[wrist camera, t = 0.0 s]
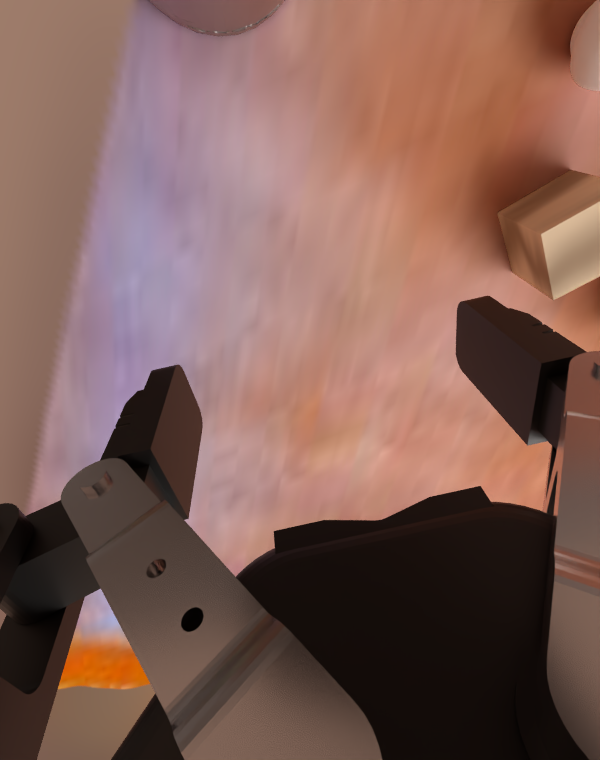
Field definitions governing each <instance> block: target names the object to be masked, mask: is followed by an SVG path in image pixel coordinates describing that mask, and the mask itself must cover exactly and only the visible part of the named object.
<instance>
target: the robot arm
mask: <svg viewBox="0 0 600 760" xmlns="http://www.w3.org/2000/svg"><path fill="white" fill-rule="evenodd" d="M150 1H151V2H152V3H153V4H154V5H155V6H156V7H157V8H158V9H159V10H160V11H162V12H163V13H164V14H166V15H167V16H168V17H170V18H171V19H172V20H174V21H175V22H176V23H178V24H180V25H182V26H184V27H186V28H189V29H191V30H193V31H195V32H197V33H202V34H207V35H213V36H229V35H238V34H241V33H243V32H246V31H248V30H251V29H253V28H256V27H257V26H259V25H260V24H261V23H263V22H264V21H265V20H267V19H268V18H269V17H271V16H272V15H273V14H274V13H275V12H276V10H277V9H278V8H279V7H280V6H281V4H282V3H283V2H284V1H285V0H150ZM456 357H457V361H458V364H459V366H460V368H461V370H462V372H463V373H464V374H465V375H466V376H467V377H468V378H469V380H470V381H471V382H472V383H473V384H474V385H475V386H476V388H477V389H478V390H479V391H480V392H481V393H482V394H483V395H484V397H485V398H486V399H487V400H488V401H489V402H490V403H491V405H492V406H493V407H494V408H495V409H496V410H497V411H498V413H499V414H500V415H501V416H502V417H503V418H504V419H505V420H506V422H507V423H508V424H509V425H510V426H511V427H512V428H513V430H514V431H515V432H516V433H517V434H518V435H519V436H520V438H521V439H522V440H523V441H524V442H525V443H526V444H527V445H532V444H537V443H541V442H546V441H548V442H549V443H550V444H551V445H552V447H551V452H550V457H549V465H548V472H547V480H546V488H545V496H544V503H543V511H540V510H536V509H533V508H529V507H526V506H521V505H516V504H511V503H502V502H490V500H489V498H488V497H487V495H486V494H485V492H484V491H483V489H482V488H481V486H478V487H474V488H469V489H465V490H460V491H455V492H451V493H446V494H442V495H437V496H432V497H429V498H427V499H425V500H423V501H420V502H418V503H416V504H414V505H412V506H410V507H408V508H406V509H404V510H402V511H400V512H398V513H396V514H394V515H391V516H389V517H387V518H385V519H382V520H376V521H367V520H323V521H318V522H314V523H309V524H304V525H300V526H295V527H291V528H286V529H282V530H277V531H274V541H275V548H274V549H272V550H270V551H268V552H266V553H265V554H263V555H262V556H260V557H258V558H257V559H255V560H254V561H253V562H252V563H250V564H249V565H248V566H246V567H245V568H244V569H243V570H242V571H241V572H240V573H239V574H238V575H237V576H236V577H235V576H234V575H233V574H232V573H231V571H230V570H229V569H228V568H227V567H226V566H225V565H224V564H223V563H222V562H221V560H220V559H219V558H218V557H217V556H216V555H215V554H214V553H213V552H212V550H211V549H210V548H209V547H208V546H207V545H206V544H205V543H204V542H203V540H202V539H201V538H200V537H199V536H198V535H197V534H196V533H195V532H194V531H193V529H192V528H191V527H190V526H189V525H188V524H187V523H186V522H185V521H184V520H185V519H188V518H189V512H190V505H191V499H192V492H193V486H194V479H195V473H196V467H197V460H198V454H199V447H200V441H201V434H202V416H201V412H200V409H199V406H198V404H197V401H196V399H195V397H194V394H193V392H192V390H191V387H190V385H189V382H188V380H187V378H186V375H185V373H184V371H183V369H182V367H181V366H180V365H174V366H169V367H165V368H161V369H156V370H152V371H151V373H150V376H149V378H148V381H147V383H146V386H145V388H144V390H140V391H137V392H136V393H135V394H134V395H133V396H132V397H131V398H130V399H129V401H128V402H127V403H126V404H125V406H124V408H123V411H122V413H121V415H120V417H121V418H119V419H118V422H117V424H116V429H114V431H113V433H112V435H111V437H110V440H109V442H108V444H107V446H106V448H105V451H104V453H103V455H102V457H101V460H100V461H98V462H95V463H93V464H91V465H89V466H87V467H85V468H84V469H82V470H81V471H80V472H78V473H77V474H76V475H75V476H74V477H73V478H72V479H71V480H70V481H69V482H68V483H67V484H66V486H65V487H64V489H63V491H62V494H61V500H60V501H58V502H56V503H54V504H51V505H49V506H47V507H45V508H42V509H40V510H38V511H36V512H34V513H31V514H29V515H27V516H25V515H24V514H23V513H22V512H21V511H20V510H19V508H17V506H15V505H13V504H9V503H4V504H0V609H1V610H2V611H3V612H4V613H6V614H7V615H6V617H5V620H4V622H3V624H2V626H1V629H0V760H37V756H38V753H39V750H40V747H41V743H42V740H43V736H44V733H45V730H46V726H47V723H48V719H49V715H50V712H51V709H52V706H53V702H54V699H55V696H56V692H57V689H58V686H59V682H60V679H61V675H62V672H63V669H64V665H65V662H66V658H67V655H68V652H69V648H70V645H71V641H72V638H73V635H74V631H75V628H76V624H77V621H78V618H79V614H80V611H81V607H82V604H83V601H84V597H85V596H87V595H89V594H91V593H93V592H95V591H97V590H98V589H100V588H101V590H102V592H103V593H104V595H105V597H106V599H107V601H108V603H109V605H110V607H111V609H112V611H113V613H114V615H115V616H116V618H117V620H118V622H119V624H120V626H121V628H122V630H123V632H124V634H125V636H126V638H127V639H128V641H129V643H130V645H131V647H132V649H133V651H134V653H135V655H136V657H137V659H138V661H139V662H140V664H141V666H142V668H143V670H144V672H145V674H146V676H147V678H148V680H149V682H150V684H151V685H152V687H153V689H154V691H155V695H154V696H153V698H152V699H151V701H150V702H149V704H148V705H147V707H146V708H145V710H144V711H143V713H142V714H141V716H140V717H139V719H138V720H137V722H136V723H135V725H134V726H133V728H132V729H131V731H130V732H129V734H128V735H127V737H126V738H125V740H124V741H123V743H122V744H121V746H120V747H119V748H118V750H117V752H116V753H115V754H114V756H113V757H112V759H111V760H600V351H593V352H586V351H584V350H583V349H581V348H580V347H578V346H577V345H575V344H574V343H572V342H571V341H569V340H568V339H566V338H565V337H563V336H562V335H560V334H559V333H557V332H553V329H551V328H550V327H548V326H547V325H545V324H544V325H542V322H541V321H539V320H538V319H536V318H534V317H533V316H531V315H530V314H528V313H524V312H521V311H518V310H515V309H511V308H509V309H508V308H506V307H505V306H503V305H502V304H501V303H499V302H498V301H496V300H495V299H493V298H492V297H490V296H484V297H480V298H475V299H471V300H466V301H462V302H460V303H459V305H458V308H457V329H456Z"/></svg>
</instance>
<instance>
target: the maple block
mask: <svg viewBox="0 0 600 760" xmlns="http://www.w3.org/2000/svg"><path fill="white" fill-rule="evenodd" d="M497 214H498V218H499V222H500V226H501V230H502V234H503V238H504V242H505V246H506V250H507V254H508V258H509V262H510V266H511V269H512V272H513V273H514V274H515V275H517V276H518V277H520V278H521V279H523V280H524V281H526V282H527V283H529V284H530V285H532V286H533V287H535V288H536V289H538V290H539V291H541V292H542V293H544V294H545V295H546V296H548V297H549V298H551V299H552V300H555V299H557V298H559V297H561V296H563V295H565V294H567V293H569V292H571V291H572V290H574V289H576V288H578V287H580V286H582V285H584V284H586V283H588V282H590V281H592V280H594V279H596V278H598V277H600V177H597V176H593V175H589V174H585V173H581V172H577V171H573V170H570V171H568V172H566V173H564V174H563V175H561V176H559V177H558V178H556V179H554V180H553V181H551V182H549V183H547V184H546V185H544V186H542V187H541V188H539V189H537V190H535V191H534V192H532V193H530V194H529V195H527V196H525V197H523V198H522V199H520V200H518V201H517V202H515V203H513V204H511V205H510V206H508V207H506V208H505V209H503V210H501V211H500V212H498V213H497Z"/></svg>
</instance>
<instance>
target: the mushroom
mask: <svg viewBox="0 0 600 760" xmlns="http://www.w3.org/2000/svg"><path fill="white" fill-rule="evenodd" d="M570 53H571V62H570V73H571V76H572V78H573V80H574V82H575V83H576V84H577V85H579V86H580V87H582V88H584V89H587V90H593V91H600V0H596V1H595V2H594V3H593V4H592V5H591V6H590V7H589V8H588V9H587V10H586V11H585V12H584V14H583V15H582V16H581V18H580V19H579V21H578V22H577V24H576V26H575V28H574V31H573V34H572V37H571V42H570Z"/></svg>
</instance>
